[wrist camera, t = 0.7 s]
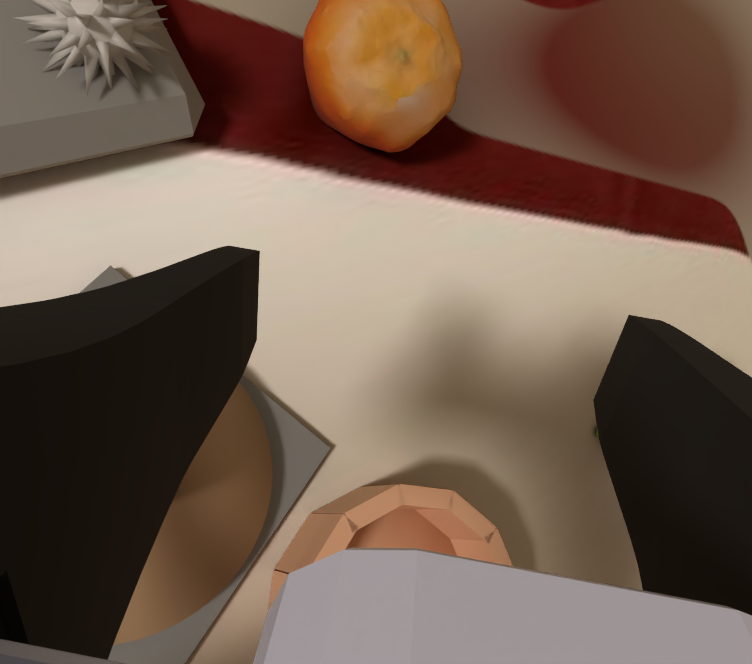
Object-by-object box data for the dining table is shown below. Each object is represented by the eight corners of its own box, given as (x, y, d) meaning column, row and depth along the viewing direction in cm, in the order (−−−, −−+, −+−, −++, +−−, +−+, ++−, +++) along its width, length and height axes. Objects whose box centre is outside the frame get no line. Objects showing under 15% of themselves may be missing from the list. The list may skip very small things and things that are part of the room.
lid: (138, 706, 20) (155, 750, 16) (-148, 518, 18) (-202, 520, 14) (315, 450, 26) (357, 440, 22) (111, 282, 23) (120, 240, 20)
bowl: (406, 790, 24) (455, 829, 21) (216, 657, 22) (240, 680, 19) (502, 569, 29) (553, 576, 26) (354, 445, 27) (391, 436, 24)
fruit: (436, 43, 35) (507, 9, 27) (388, 170, 36) (444, 170, 28) (312, -28, 32) (354, -88, 24) (263, 113, 33) (290, 97, 25)
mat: (138, 725, 20) (140, 729, 20) (-174, 522, 18) (-179, 522, 18) (327, 449, 26) (330, 448, 26) (109, 268, 24) (110, 265, 24)
